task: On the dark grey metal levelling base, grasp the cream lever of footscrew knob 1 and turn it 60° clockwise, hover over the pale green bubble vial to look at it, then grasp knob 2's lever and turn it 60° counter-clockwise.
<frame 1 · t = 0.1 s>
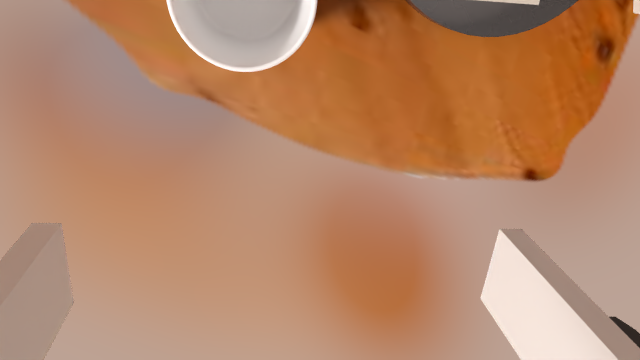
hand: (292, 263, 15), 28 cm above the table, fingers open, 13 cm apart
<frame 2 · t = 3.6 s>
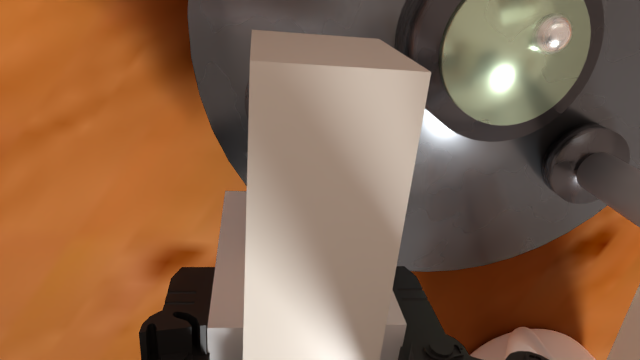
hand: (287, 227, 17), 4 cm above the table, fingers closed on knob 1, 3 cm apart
levelling base: (455, 30, 19), on the table
mug: (508, 357, 27), on the table
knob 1: (300, 207, 13), point 8 cm above the table, hinge at 0.0°, touching gripper
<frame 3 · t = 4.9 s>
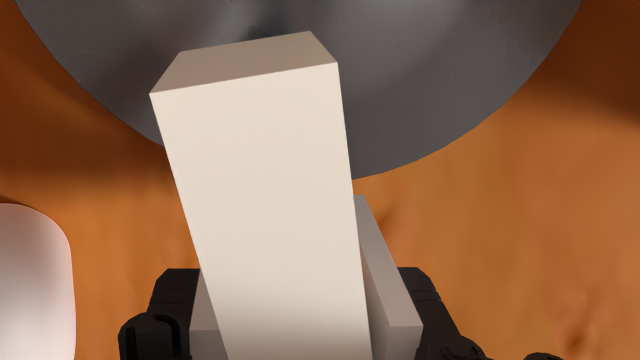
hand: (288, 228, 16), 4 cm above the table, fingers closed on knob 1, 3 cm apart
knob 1: (280, 212, 13), point 8 cm above the table, hinge at -44.1°, touching gripper
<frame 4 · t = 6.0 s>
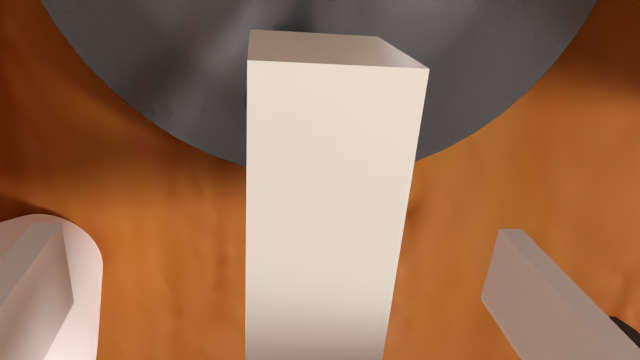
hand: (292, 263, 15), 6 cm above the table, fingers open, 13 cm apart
mug 2: (10, 248, 20), on the table, touching gripper
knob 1: (301, 206, 13), point 8 cm above the table, hinge at -59.1°
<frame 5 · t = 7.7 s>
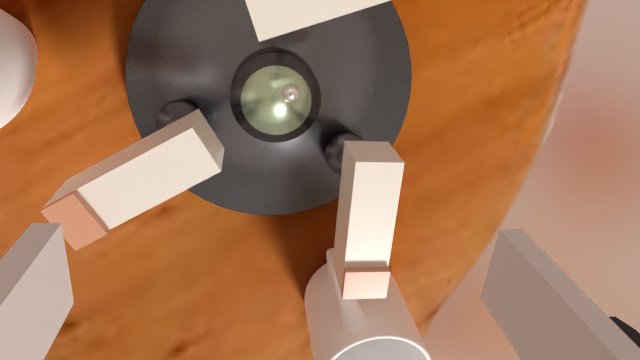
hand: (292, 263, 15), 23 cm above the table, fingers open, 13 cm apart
levelling base: (273, 84, 35), on the table
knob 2: (357, 202, 32), point 8 cm above the table, hinge at 0.0°
mug: (343, 275, 44), on the table
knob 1: (147, 160, 29), point 8 cm above the table, hinge at -59.4°
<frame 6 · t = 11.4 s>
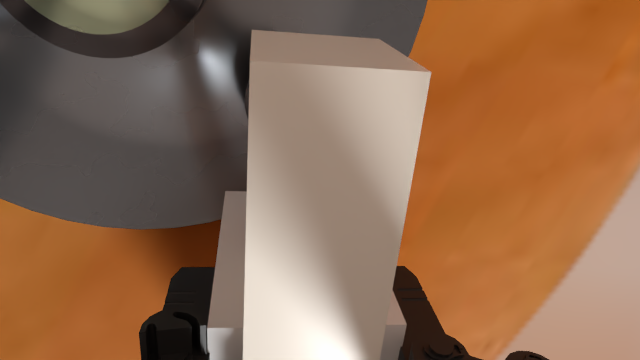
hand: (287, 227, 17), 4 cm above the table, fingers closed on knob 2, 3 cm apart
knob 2: (300, 207, 13), point 8 cm above the table, hinge at 0.0°, touching gripper
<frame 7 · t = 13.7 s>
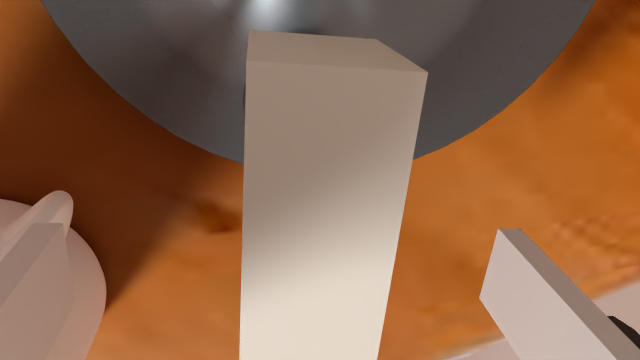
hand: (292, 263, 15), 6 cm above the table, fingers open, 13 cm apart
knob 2: (298, 207, 13), point 8 cm above the table, hinge at 59.8°
mug: (30, 249, 21), on the table, touching gripper
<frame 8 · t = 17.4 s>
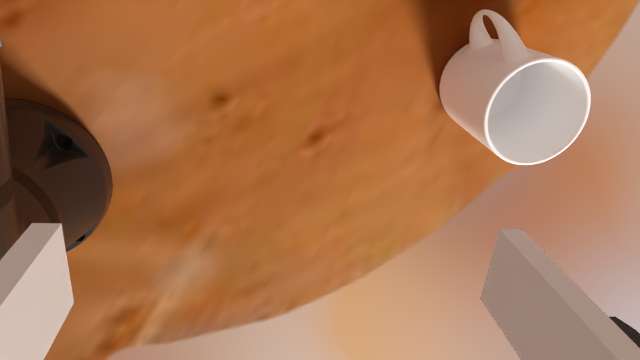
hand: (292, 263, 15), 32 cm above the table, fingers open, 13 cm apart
mug: (474, 65, 46), on the table
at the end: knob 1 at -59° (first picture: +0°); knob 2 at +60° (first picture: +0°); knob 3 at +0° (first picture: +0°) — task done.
